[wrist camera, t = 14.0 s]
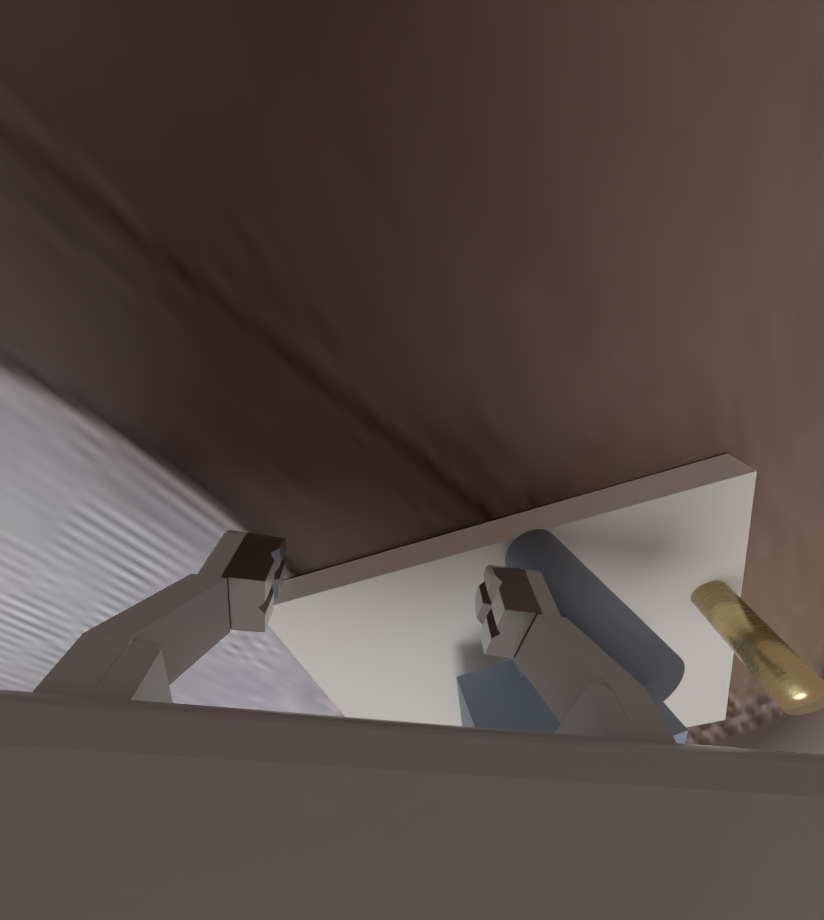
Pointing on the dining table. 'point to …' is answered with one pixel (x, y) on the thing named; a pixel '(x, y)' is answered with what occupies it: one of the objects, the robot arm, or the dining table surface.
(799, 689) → the dowel
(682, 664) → the grey socket with handle
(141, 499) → the dining table surface
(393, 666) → the post board
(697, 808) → the robot arm
